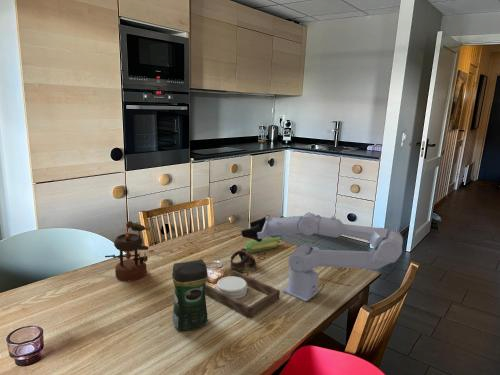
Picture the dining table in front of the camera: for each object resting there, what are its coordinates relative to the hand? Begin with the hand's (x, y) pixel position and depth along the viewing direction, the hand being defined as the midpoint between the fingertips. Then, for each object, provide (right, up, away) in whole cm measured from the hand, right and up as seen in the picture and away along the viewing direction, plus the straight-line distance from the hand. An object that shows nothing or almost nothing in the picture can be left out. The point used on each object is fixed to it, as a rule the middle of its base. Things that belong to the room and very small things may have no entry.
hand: (246, 229), depth 127 cm
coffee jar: (-16, -24, -24) cm, 37 cm away
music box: (-42, -16, +2) cm, 45 cm away
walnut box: (-2, -21, -8) cm, 22 cm away
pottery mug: (-1, -16, +12) cm, 20 cm away
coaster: (-5, -20, -6) cm, 22 cm away
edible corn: (+7, -12, +30) cm, 33 cm away
